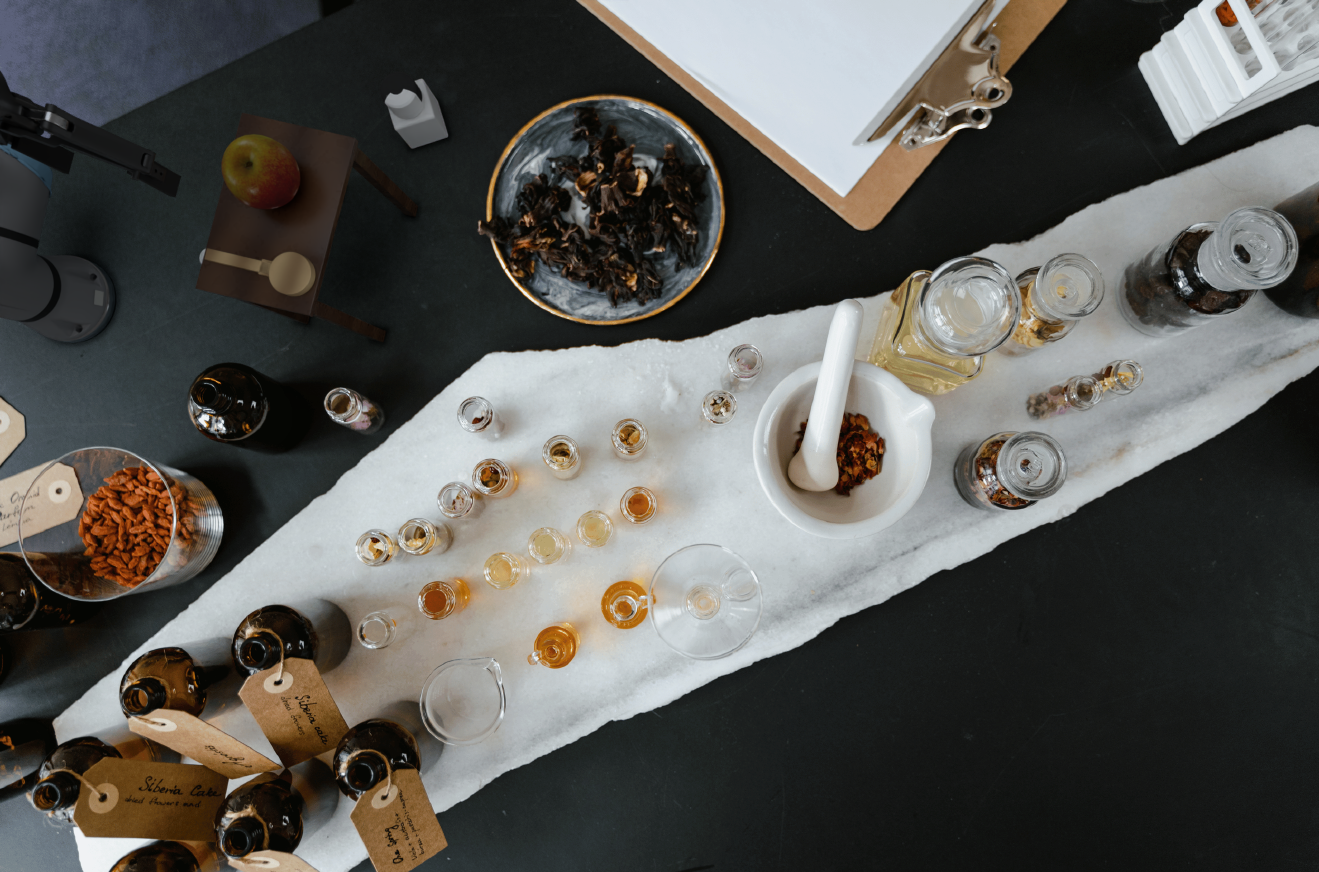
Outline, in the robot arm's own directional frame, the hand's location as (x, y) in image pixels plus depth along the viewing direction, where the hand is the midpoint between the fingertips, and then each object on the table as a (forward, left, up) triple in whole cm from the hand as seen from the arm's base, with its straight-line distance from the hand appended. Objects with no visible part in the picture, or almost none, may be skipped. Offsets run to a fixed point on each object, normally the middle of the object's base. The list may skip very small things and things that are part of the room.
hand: (122, 174), depth 81 cm
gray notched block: (+16, +30, -37) cm, 50 cm away
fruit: (+10, +7, -13) cm, 18 cm away
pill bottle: (-10, -3, -37) cm, 38 cm away
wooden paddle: (+10, -5, -13) cm, 17 cm away
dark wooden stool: (+11, +3, -37) cm, 38 cm away
